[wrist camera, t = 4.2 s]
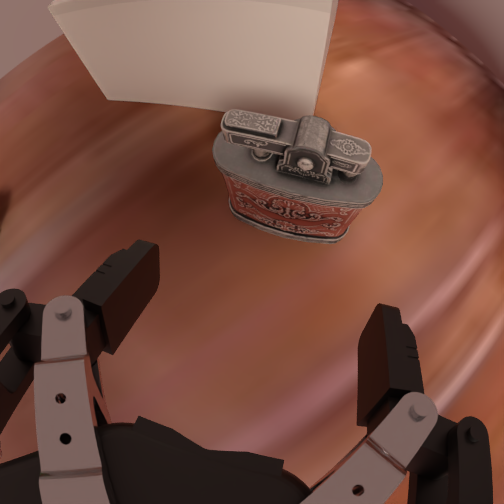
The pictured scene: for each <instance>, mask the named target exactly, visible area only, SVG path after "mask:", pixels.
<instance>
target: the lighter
mask: <svg viewBox="0 0 504 504" xmlns="http://www.w3.org/2000/svg"><path fill="white" fill-rule="evenodd" d="M221 128H222V131H221V132H220V133H219V134H218V135H217V137H216V139H215V140H214V144H213V148H212V151H213V157H214V160H215V164H216V166H217V167H218V169H219V171H220V172H222V173H223V177H224V180H225V183H226V187H227V190H228V193H229V206H230V209H231V212H232V213H233V215H234V217H236V218H237V219H238V220H240V221H242V222H245V223H247V224H249V225H251V226H253V227H255V228H257V229H260V230H263V231H266V232H269V233H271V234H274V235H277V236H280V237H284V238H289V239H294V240H299V241H304V242H313V243H326V244H332V243H337V242H338V241H340V240H341V239H342V238H343V237H344V236H345V234H346V233H347V232H348V230H349V227H350V224H351V223H352V221H353V220H354V219H355V218H356V216H357V215H358V214H359V212H360V211H361V210H362V209H363V208H365V207H367V206H368V205H370V204H371V203H372V202H373V201H374V199H375V198H376V197H377V196H378V194H379V193H380V192H381V188H382V185H383V175H382V172H381V169H380V166H379V165H378V164H377V162H376V161H375V160H374V159H373V158H372V157H371V146H370V144H369V143H368V142H367V141H365V140H363V139H361V138H357V137H354V136H350V135H347V134H343V133H340V132H336V130H335V129H334V128H333V127H331V125H330V123H329V122H328V121H326V120H325V119H323V118H320V117H316V116H312V115H309V116H303V117H302V118H300V119H295V120H294V121H293V120H288V119H284V118H279V117H274V116H270V115H265V114H260V113H255V112H249V111H244V110H238V109H232V110H229V111H227V112H226V113H225V114H224V116H223V118H222V121H221Z"/></svg>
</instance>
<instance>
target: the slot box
mask: <svg viewBox="0 0 504 504" xmlns="http://www.w3.org/2000/svg"><path fill="white" fill-rule="evenodd" d="M337 6H338V0H54V1H53V2H52V3H51V4H50V5H49V6H48V9H49V11H50V12H51V14H52V15H53V17H54V18H55V20H56V22H57V23H58V25H59V26H60V28H61V29H62V31H63V33H64V34H65V36H66V37H67V39H68V40H69V42H70V44H71V45H72V47H73V48H74V50H75V51H76V53H77V54H78V56H79V57H80V59H81V61H82V62H83V64H84V65H85V67H86V68H87V70H88V71H89V73H90V74H91V76H92V77H93V79H94V80H95V82H96V83H97V85H98V86H99V88H100V89H101V91H102V92H103V94H104V95H105V97H106V98H107V100H117V101H133V102H146V103H157V104H167V105H177V106H185V107H193V108H201V109H208V110H214V111H221V112H227V111H229V110H232V109H238V110H244V111H249V112H255V113H260V114H265V115H270V116H274V117H279V118H284V119H288V120H293V121H294V120H295V119H300V118H302V117H303V116H309V115H312V116H313V114H314V110H315V106H316V101H317V97H318V93H319V88H320V84H321V80H322V75H323V71H324V66H325V62H326V57H327V53H328V48H329V44H330V39H331V35H332V30H333V25H334V21H335V16H336V11H337Z"/></svg>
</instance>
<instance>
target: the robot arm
mask: <svg viewBox="0 0 504 504" xmlns="http://www.w3.org/2000/svg"><path fill="white" fill-rule="evenodd" d="M159 280H160V268H159V246H158V245H157V244H154V243H150V242H147V241H143V240H137V241H136V242H135V243H134V244H133V245H132V246H131V247H130V248H129V249H128V250H125V249H122V250H120V251H118V252H116V253H114V254H112V255H111V256H110V257H109V258H108V259H107V260H106V261H105V262H104V263H103V265H101V266H100V267H99V268H98V269H97V270H96V272H94V273H93V274H92V275H91V276H90V277H89V278H88V279H87V280H86V281H85V282H84V283H83V284H82V285H81V287H80V288H79V289H78V290H77V291H76V292H75V293H74V294H73V295H72V296H60V297H56V298H54V299H53V300H51V301H50V302H49V303H48V304H47V305H43V304H35V303H28V301H27V298H26V296H25V294H24V292H23V291H21V290H19V289H8V290H5V291H3V292H1V293H0V354H1V352H2V351H3V350H4V348H5V347H6V346H7V344H8V343H9V344H10V346H11V348H10V349H9V351H8V352H7V353H6V355H5V356H4V357H3V359H2V360H1V361H0V434H1V433H2V431H3V429H4V427H5V425H6V424H7V422H8V420H9V419H10V417H11V415H12V413H13V412H14V410H15V408H16V407H17V405H18V403H19V402H20V400H21V399H22V397H23V395H24V394H25V392H26V391H27V389H28V387H29V386H30V384H31V383H32V381H33V380H34V399H35V418H36V431H37V441H38V450H39V451H36V452H33V453H30V454H28V455H25V456H22V457H19V458H16V459H13V460H10V461H7V462H4V463H1V464H0V504H384V503H385V501H386V500H387V499H388V498H389V497H390V495H391V494H392V493H393V492H394V490H395V489H396V488H397V487H398V485H399V484H400V483H401V482H402V480H403V479H404V477H405V476H406V474H407V471H410V476H409V490H408V502H407V504H493V485H492V467H491V455H490V445H489V437H488V432H487V429H486V427H485V425H484V424H483V423H482V422H481V421H480V420H479V419H477V418H475V417H471V416H469V417H465V418H463V419H462V420H461V421H460V422H458V423H455V422H453V421H451V420H449V419H446V418H444V417H442V416H440V415H438V412H437V408H436V406H435V404H434V402H433V401H432V400H431V399H430V398H429V397H428V396H426V395H424V388H423V381H422V375H421V368H420V362H419V360H418V358H419V356H418V351H417V350H416V349H417V345H416V340H415V336H414V334H413V332H412V331H411V329H410V327H409V326H408V325H407V324H402V320H401V315H400V310H399V308H397V307H393V306H389V305H385V304H380V303H379V304H378V305H377V306H376V307H375V309H374V311H373V313H372V315H371V317H370V319H369V321H368V322H367V324H366V326H365V328H364V330H363V332H362V334H361V336H360V339H359V343H358V400H357V426H364V427H367V434H366V435H365V436H364V437H363V438H362V439H361V441H360V442H359V443H358V444H357V445H356V446H355V447H354V448H353V449H352V450H351V451H350V452H349V453H348V454H347V455H346V456H345V457H344V458H343V459H342V460H341V461H340V462H338V463H337V464H336V465H335V466H334V467H333V468H332V469H331V470H330V471H329V472H328V473H327V474H325V475H324V476H323V477H322V478H321V479H319V480H318V481H317V482H316V483H315V484H314V485H312V486H311V487H310V488H309V487H308V486H307V485H306V484H305V483H304V482H303V481H302V480H300V479H299V478H298V477H296V476H295V475H293V474H292V473H290V472H288V471H286V470H284V469H282V468H283V463H284V460H281V459H276V458H272V457H267V456H263V455H258V454H254V453H250V452H237V451H217V450H207V449H204V448H202V447H201V446H199V445H197V444H196V443H194V442H192V441H191V440H189V439H188V438H186V437H184V436H183V435H181V434H180V433H178V432H177V431H175V430H173V429H172V428H169V427H166V426H163V425H161V424H158V423H156V422H153V421H151V420H148V419H146V418H143V417H141V416H138V418H137V420H136V422H135V424H134V423H112V422H111V418H110V415H109V412H108V409H107V405H106V400H105V395H104V389H103V384H102V378H101V371H100V364H99V359H98V357H99V355H100V354H101V352H102V351H104V352H107V353H109V354H111V355H113V354H114V353H115V351H116V350H117V348H118V347H119V345H120V344H121V342H122V341H123V339H124V338H125V336H126V335H127V333H128V332H129V330H130V329H131V328H132V326H133V325H134V323H135V322H136V320H137V319H138V317H139V316H140V314H141V313H142V312H143V310H144V309H145V307H146V306H147V304H148V303H149V302H150V300H151V299H152V297H153V296H154V294H155V293H156V291H157V288H158V285H159ZM0 448H1V443H0ZM1 457H2V451H1V449H0V459H1ZM406 470H407V471H406Z"/></svg>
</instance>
